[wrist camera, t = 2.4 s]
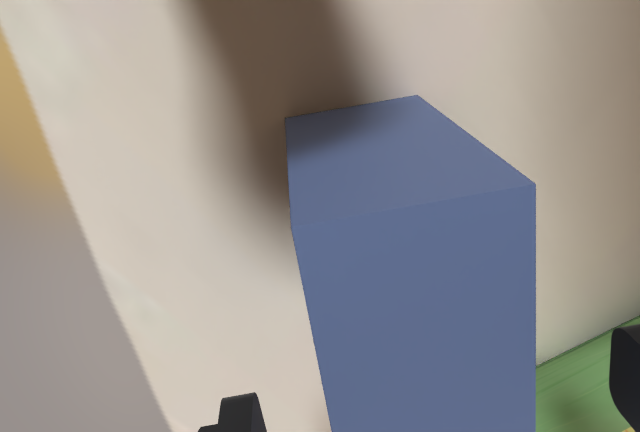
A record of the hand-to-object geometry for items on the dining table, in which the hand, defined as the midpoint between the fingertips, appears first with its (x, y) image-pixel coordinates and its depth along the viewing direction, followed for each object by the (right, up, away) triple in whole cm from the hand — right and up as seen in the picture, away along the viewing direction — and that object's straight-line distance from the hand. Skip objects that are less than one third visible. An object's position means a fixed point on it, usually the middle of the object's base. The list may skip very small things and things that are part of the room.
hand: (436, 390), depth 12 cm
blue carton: (-1, +4, +10) cm, 11 cm away
